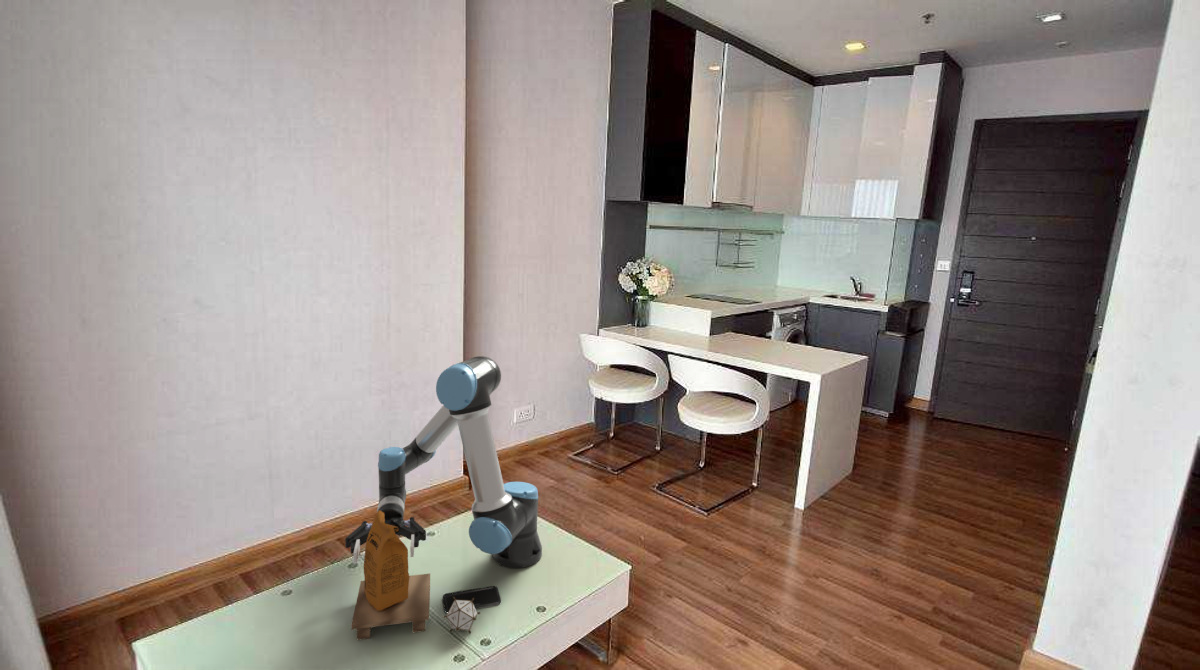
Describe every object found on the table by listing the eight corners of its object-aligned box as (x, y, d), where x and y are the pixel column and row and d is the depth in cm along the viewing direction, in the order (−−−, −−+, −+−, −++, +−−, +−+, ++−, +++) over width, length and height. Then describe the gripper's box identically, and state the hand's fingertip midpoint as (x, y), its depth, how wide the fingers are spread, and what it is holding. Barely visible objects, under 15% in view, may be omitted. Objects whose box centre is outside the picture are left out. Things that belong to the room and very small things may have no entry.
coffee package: (397, 577, 160) (395, 503, 155) (413, 601, 150) (412, 523, 146) (359, 590, 154) (356, 512, 149) (373, 616, 144) (371, 534, 140)
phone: (442, 594, 160) (496, 585, 165) (442, 597, 160) (496, 588, 166) (444, 612, 153) (501, 602, 158) (444, 615, 153) (501, 605, 158)
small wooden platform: (430, 589, 163) (430, 573, 162) (429, 633, 146) (429, 615, 145) (361, 597, 158) (360, 580, 157) (351, 643, 141) (351, 625, 140)
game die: (463, 647, 147) (456, 635, 140) (440, 624, 150) (433, 611, 143) (489, 617, 152) (484, 605, 144) (466, 596, 155) (460, 583, 148)
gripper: (435, 522, 172) (434, 563, 152) (343, 530, 165) (331, 574, 145) (434, 499, 171) (434, 536, 151) (342, 506, 164) (330, 546, 144)
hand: (383, 555), depth 148 cm, fingers open, 13 cm apart
